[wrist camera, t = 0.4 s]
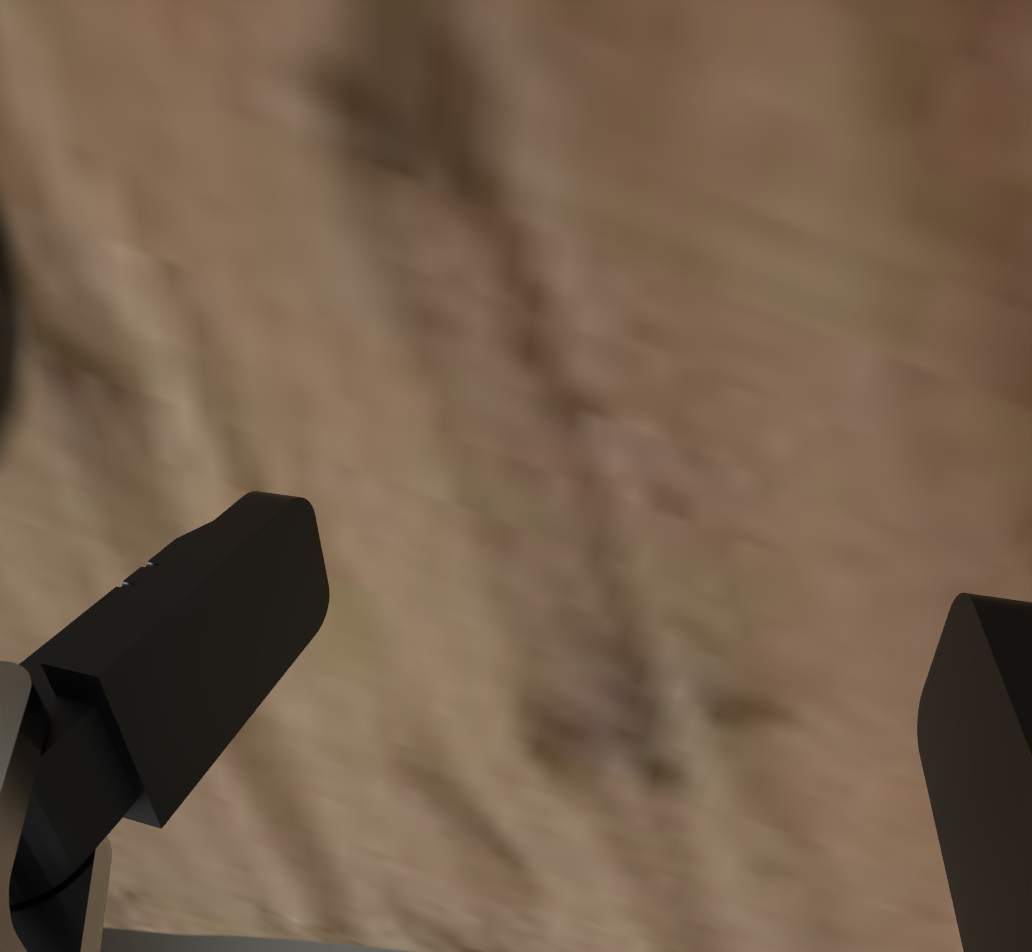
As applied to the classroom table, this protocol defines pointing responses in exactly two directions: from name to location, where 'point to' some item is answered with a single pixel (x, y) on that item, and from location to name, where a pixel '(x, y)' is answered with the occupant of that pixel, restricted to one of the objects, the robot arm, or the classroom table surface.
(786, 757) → the classroom table surface
